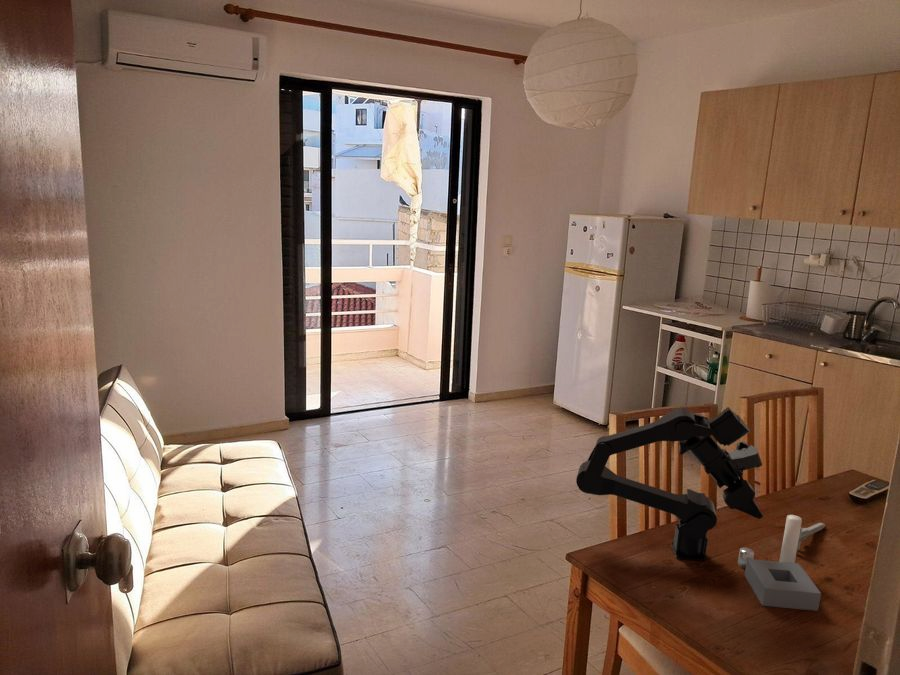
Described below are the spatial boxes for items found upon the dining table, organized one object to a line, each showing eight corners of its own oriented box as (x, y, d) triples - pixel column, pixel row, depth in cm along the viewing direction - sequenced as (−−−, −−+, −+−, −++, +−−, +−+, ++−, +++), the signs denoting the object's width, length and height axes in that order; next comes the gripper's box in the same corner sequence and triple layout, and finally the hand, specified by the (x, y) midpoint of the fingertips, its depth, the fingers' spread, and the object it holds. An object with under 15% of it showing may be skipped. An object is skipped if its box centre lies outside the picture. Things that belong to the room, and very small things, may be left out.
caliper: (794, 554, 158) (799, 530, 156) (790, 552, 158) (794, 528, 157) (825, 527, 171) (829, 504, 170) (820, 525, 172) (824, 503, 171)
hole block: (762, 605, 137) (765, 588, 136) (744, 575, 148) (747, 559, 147) (817, 610, 136) (821, 593, 135) (796, 579, 147) (799, 563, 146)
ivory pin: (781, 571, 150) (790, 520, 147) (776, 564, 153) (784, 514, 150) (795, 572, 149) (804, 521, 147) (790, 565, 152) (798, 515, 150)
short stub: (740, 567, 151) (742, 553, 150) (736, 560, 153) (738, 546, 153) (753, 569, 150) (756, 555, 150) (749, 561, 153) (751, 548, 152)
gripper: (750, 451, 138) (799, 507, 139) (733, 421, 156) (777, 471, 156) (705, 481, 142) (753, 535, 142) (694, 448, 160) (737, 497, 160)
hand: (756, 508), depth 150 cm, fingers open, 9 cm apart
